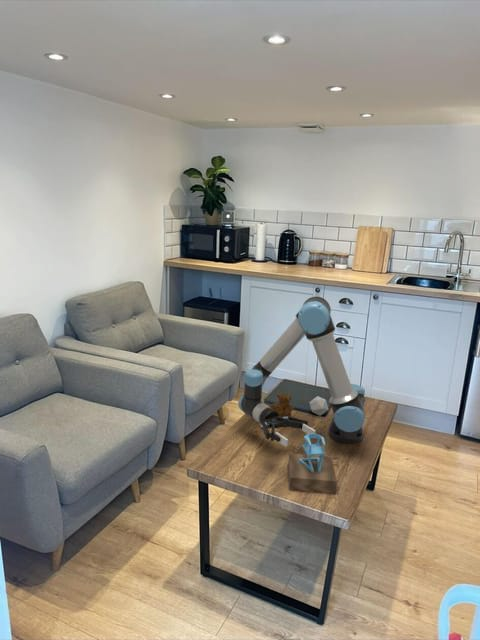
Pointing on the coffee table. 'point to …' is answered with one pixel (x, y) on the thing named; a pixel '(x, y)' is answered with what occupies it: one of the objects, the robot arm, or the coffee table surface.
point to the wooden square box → (311, 475)
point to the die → (318, 405)
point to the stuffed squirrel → (283, 405)
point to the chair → (313, 451)
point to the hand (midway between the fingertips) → (301, 438)
